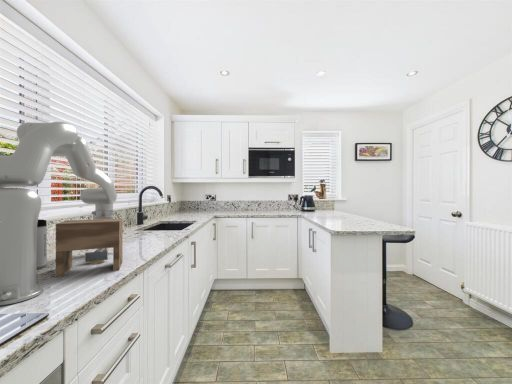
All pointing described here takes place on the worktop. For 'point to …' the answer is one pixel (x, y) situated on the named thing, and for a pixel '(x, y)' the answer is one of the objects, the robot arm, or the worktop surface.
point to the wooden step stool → (87, 240)
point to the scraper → (97, 255)
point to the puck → (95, 262)
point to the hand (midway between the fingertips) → (104, 247)
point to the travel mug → (41, 244)
